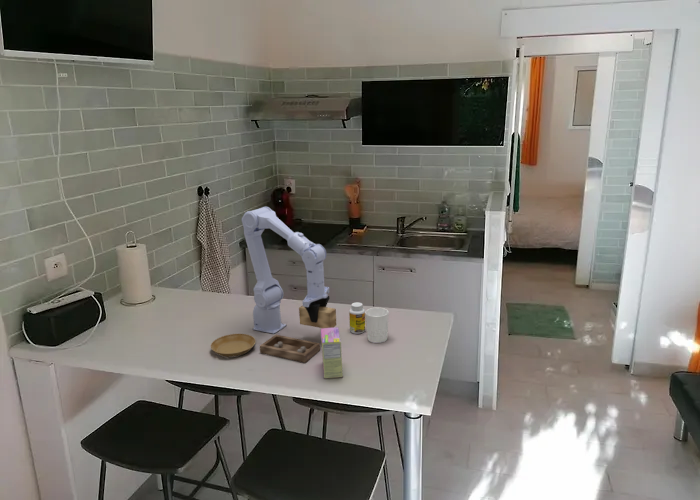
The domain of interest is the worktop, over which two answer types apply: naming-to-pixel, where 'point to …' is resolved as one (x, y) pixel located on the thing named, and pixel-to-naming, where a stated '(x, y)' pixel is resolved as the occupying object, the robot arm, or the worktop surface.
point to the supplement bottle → (357, 318)
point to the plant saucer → (233, 345)
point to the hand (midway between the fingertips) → (317, 319)
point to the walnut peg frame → (290, 348)
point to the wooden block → (319, 317)
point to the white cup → (377, 324)
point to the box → (331, 352)
